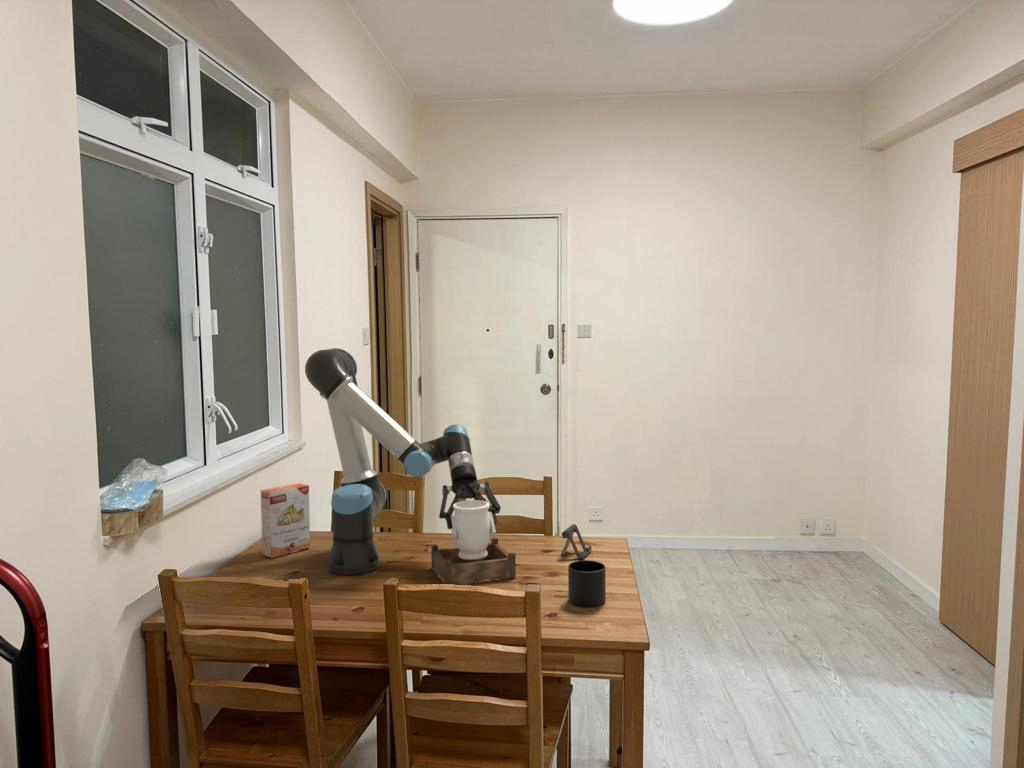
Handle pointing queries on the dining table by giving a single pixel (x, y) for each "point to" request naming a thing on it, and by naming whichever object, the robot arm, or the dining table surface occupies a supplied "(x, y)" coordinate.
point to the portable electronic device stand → (569, 534)
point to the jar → (472, 528)
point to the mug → (586, 583)
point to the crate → (473, 565)
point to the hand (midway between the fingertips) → (474, 536)
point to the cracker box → (285, 519)
